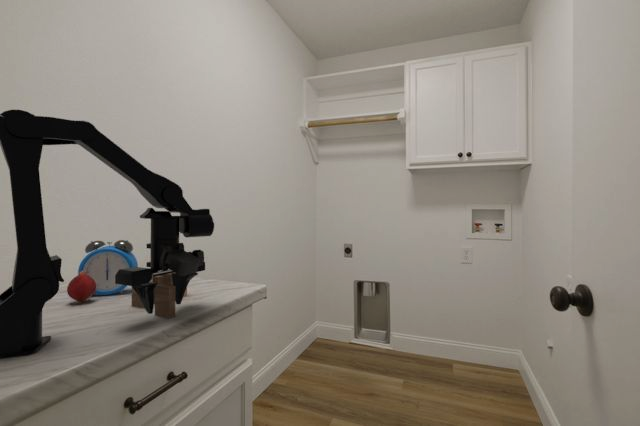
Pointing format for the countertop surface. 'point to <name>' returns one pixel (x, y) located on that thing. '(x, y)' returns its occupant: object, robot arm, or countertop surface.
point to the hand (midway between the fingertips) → (164, 308)
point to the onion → (81, 287)
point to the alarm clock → (107, 264)
